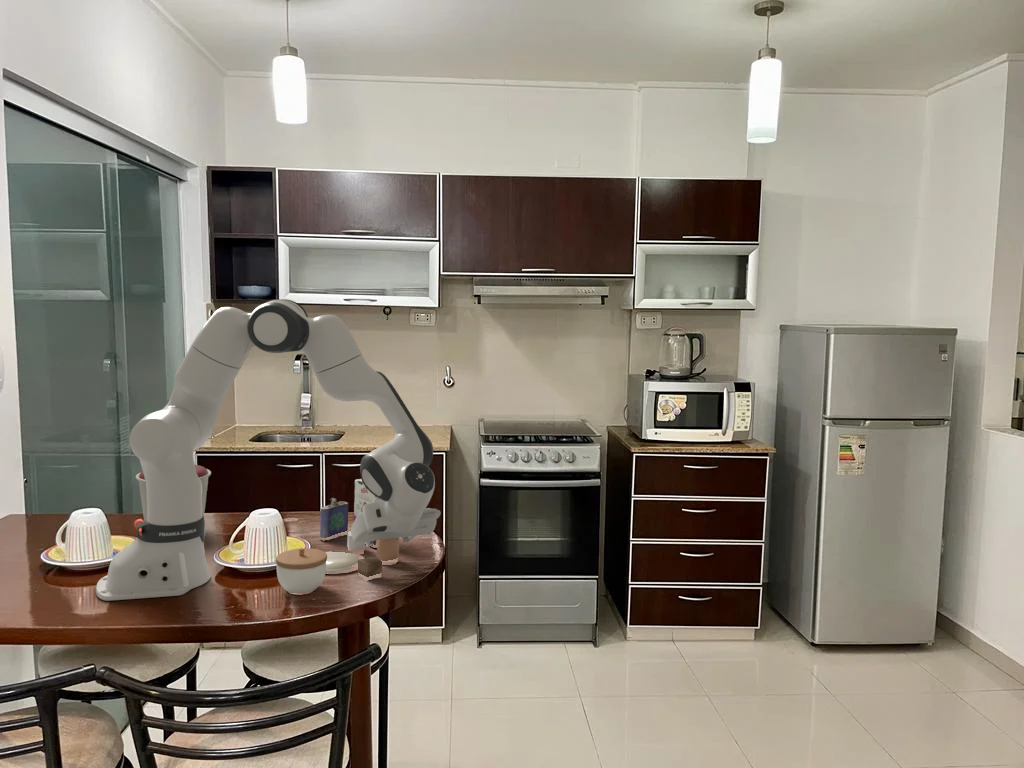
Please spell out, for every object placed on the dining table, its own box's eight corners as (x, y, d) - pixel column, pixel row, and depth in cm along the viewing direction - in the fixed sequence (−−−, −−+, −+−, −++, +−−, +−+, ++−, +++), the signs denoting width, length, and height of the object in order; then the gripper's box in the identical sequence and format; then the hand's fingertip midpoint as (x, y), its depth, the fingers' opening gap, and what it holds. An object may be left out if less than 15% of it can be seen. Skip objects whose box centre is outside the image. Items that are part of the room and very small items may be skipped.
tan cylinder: (380, 567, 175) (381, 528, 174) (373, 560, 180) (374, 522, 179) (401, 564, 178) (402, 525, 177) (394, 557, 182) (395, 519, 181)
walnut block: (367, 581, 165) (367, 564, 165) (357, 576, 168) (357, 560, 168) (381, 577, 168) (382, 561, 168) (372, 572, 171) (372, 556, 171)
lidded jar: (274, 601, 152) (274, 558, 151) (276, 582, 163) (277, 542, 162) (327, 598, 155) (327, 555, 154) (326, 579, 165) (326, 539, 165)
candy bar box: (391, 546, 191) (392, 484, 189) (374, 549, 187) (375, 487, 186) (368, 535, 199) (369, 476, 197) (352, 538, 195) (353, 479, 194)
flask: (324, 542, 192) (324, 502, 191) (316, 540, 193) (317, 500, 192) (350, 534, 199) (350, 496, 198) (342, 532, 201) (343, 494, 200)
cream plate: (313, 578, 166) (313, 573, 166) (300, 559, 178) (300, 554, 178) (372, 569, 173) (372, 565, 173) (356, 552, 185) (356, 547, 185)
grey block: (348, 555, 182) (349, 536, 182) (347, 550, 186) (347, 531, 186) (364, 554, 184) (365, 535, 183) (362, 549, 187) (363, 530, 187)
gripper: (439, 497, 176) (423, 525, 185) (356, 505, 166) (344, 534, 176) (446, 520, 172) (429, 548, 182) (362, 529, 163) (349, 558, 172)
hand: (387, 541), depth 179 cm, fingers open, 8 cm apart
